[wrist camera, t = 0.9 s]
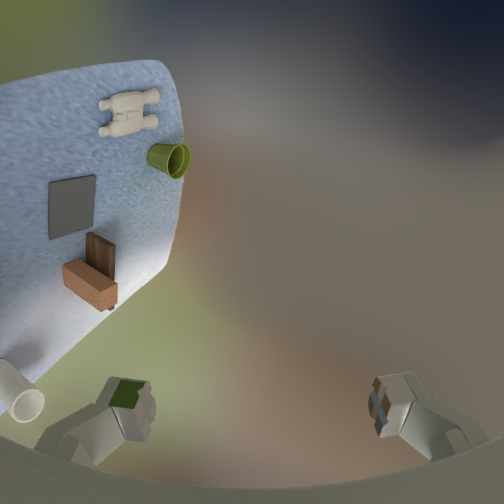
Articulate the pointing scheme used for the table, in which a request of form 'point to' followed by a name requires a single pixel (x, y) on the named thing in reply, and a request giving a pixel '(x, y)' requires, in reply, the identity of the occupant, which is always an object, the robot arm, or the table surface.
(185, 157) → the plant pot
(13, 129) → the table surface
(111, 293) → the marked block
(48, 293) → the table surface
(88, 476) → the robot arm
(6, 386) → the foam cup
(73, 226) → the slate pad
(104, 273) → the low board
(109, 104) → the binoculars
